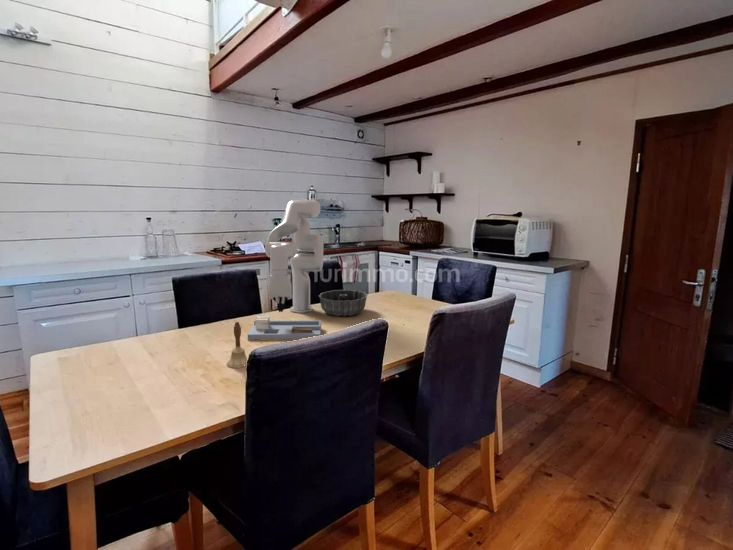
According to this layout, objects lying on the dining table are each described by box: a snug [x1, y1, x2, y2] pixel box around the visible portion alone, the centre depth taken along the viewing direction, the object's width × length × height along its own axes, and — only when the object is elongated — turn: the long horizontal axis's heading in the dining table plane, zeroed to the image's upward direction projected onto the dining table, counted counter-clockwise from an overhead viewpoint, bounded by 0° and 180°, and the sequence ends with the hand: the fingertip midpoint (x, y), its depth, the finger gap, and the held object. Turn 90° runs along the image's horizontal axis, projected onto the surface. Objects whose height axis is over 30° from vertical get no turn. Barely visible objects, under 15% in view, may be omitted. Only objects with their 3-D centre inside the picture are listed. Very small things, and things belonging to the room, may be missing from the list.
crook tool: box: [292, 328, 312, 333], centre depth 173 cm, size 3×9×1 cm, turn 95°
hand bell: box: [226, 321, 248, 369], centre depth 143 cm, size 8×8×16 cm
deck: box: [247, 320, 322, 341], centre depth 177 cm, size 15×31×4 cm, turn 95°
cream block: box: [254, 315, 271, 329], centre depth 178 cm, size 6×6×4 cm
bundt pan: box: [318, 289, 368, 317], centre depth 214 cm, size 26×26×10 cm
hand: (281, 310), depth 180 cm, fingers closed
